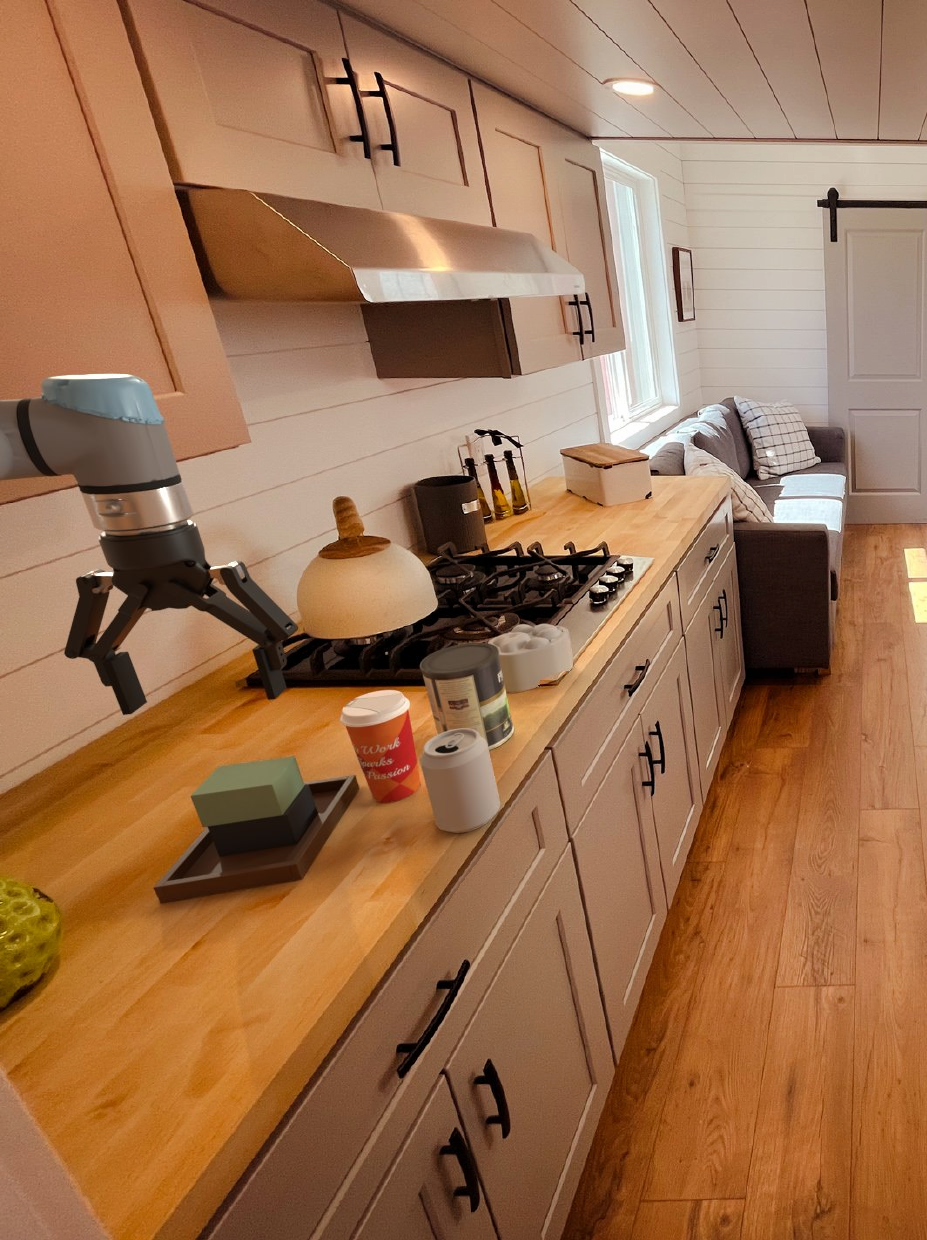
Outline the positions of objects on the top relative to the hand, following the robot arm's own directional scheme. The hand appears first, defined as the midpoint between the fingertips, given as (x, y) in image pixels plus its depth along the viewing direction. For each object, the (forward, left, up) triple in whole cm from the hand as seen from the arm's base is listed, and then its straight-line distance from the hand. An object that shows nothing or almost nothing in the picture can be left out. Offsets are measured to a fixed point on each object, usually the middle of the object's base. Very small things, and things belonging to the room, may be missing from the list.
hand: (208, 701), depth 83 cm
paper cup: (+13, +7, -20) cm, 25 cm away
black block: (+1, 0, -19) cm, 19 cm away
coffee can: (+21, +18, -20) cm, 34 cm away
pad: (+1, 0, -15) cm, 15 cm away
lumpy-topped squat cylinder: (+26, +38, -20) cm, 51 cm away
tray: (+1, 0, -20) cm, 20 cm away
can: (+24, -2, -20) cm, 32 cm away
